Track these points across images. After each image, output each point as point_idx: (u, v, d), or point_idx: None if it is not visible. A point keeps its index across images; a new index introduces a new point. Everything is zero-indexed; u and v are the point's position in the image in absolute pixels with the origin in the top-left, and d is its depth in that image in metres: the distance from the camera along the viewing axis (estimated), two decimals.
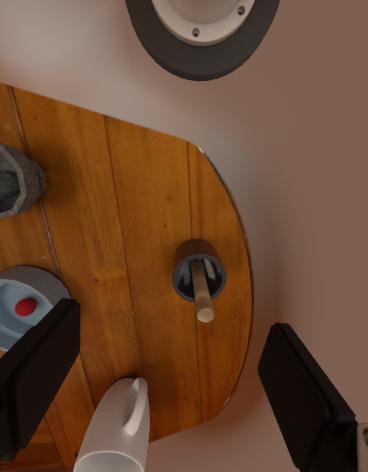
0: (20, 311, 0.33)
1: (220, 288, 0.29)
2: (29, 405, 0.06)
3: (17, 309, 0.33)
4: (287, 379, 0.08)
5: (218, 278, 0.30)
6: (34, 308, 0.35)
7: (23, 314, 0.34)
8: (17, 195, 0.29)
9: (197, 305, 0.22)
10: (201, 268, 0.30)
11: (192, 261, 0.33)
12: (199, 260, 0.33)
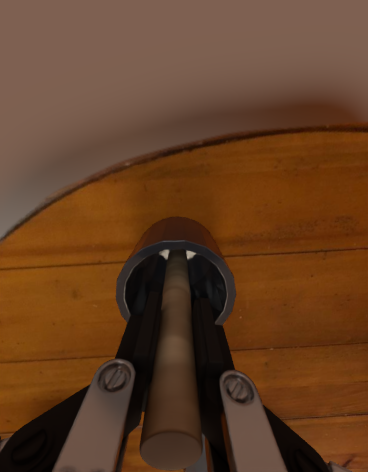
0: None
1: (199, 252, 0.12)
2: None
3: None
4: (194, 343, 0.09)
5: None
6: None
7: None
8: None
9: None
10: (166, 274, 0.15)
11: None
12: (168, 259, 0.17)
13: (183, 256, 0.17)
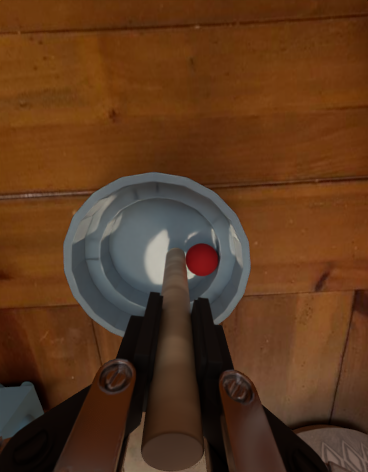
0: None
1: None
2: None
3: None
4: None
5: None
6: (203, 244, 0.18)
7: None
8: None
9: None
10: (165, 274, 0.15)
11: None
12: (166, 259, 0.17)
13: (181, 255, 0.17)
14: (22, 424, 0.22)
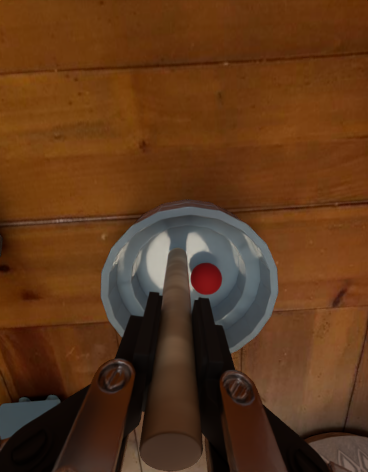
0: (220, 282, 0.18)
1: None
2: None
3: (217, 288, 0.18)
4: (194, 343, 0.09)
5: None
6: (209, 264, 0.19)
7: (221, 276, 0.19)
8: None
9: None
10: (166, 274, 0.15)
11: None
12: (168, 259, 0.17)
13: (183, 255, 0.17)
14: None
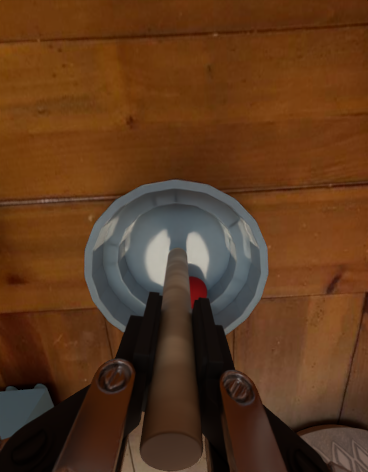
0: None
1: None
2: None
3: None
4: (194, 343, 0.09)
5: None
6: None
7: None
8: None
9: None
10: (166, 274, 0.15)
11: None
12: (168, 259, 0.17)
13: (183, 255, 0.17)
14: None
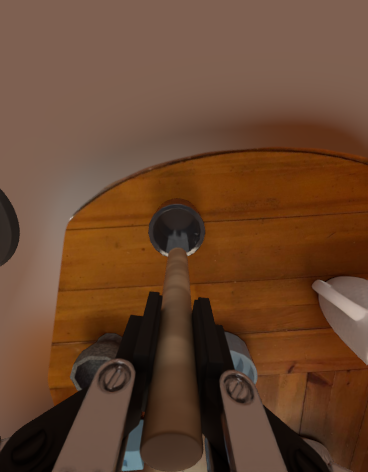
0: None
1: (187, 209, 0.26)
2: None
3: None
4: (194, 343, 0.09)
5: None
6: None
7: None
8: None
9: None
10: (166, 274, 0.15)
11: None
12: (168, 258, 0.17)
13: (183, 255, 0.17)
14: None
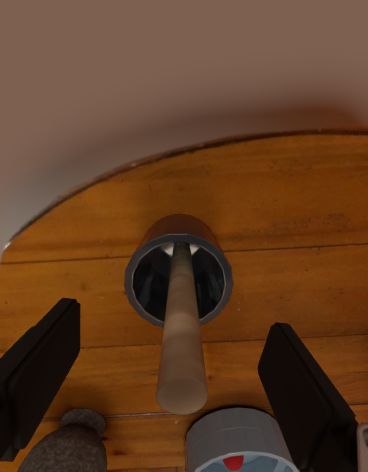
0: (232, 459, 0.26)
1: (200, 244, 0.13)
2: (29, 405, 0.06)
3: (232, 465, 0.26)
4: (287, 379, 0.08)
5: None
6: None
7: None
8: None
9: None
10: (172, 265, 0.16)
11: None
12: (173, 252, 0.19)
13: (187, 249, 0.19)
14: None
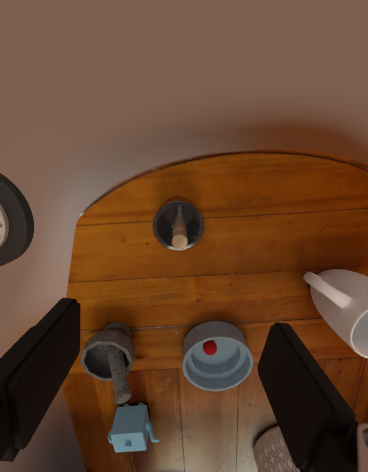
0: (208, 342, 0.43)
1: (188, 206, 0.29)
2: (29, 405, 0.06)
3: (207, 344, 0.42)
4: (287, 379, 0.08)
5: None
6: None
7: (211, 341, 0.43)
8: None
9: None
10: (175, 220, 0.32)
11: None
12: (175, 216, 0.35)
13: (182, 215, 0.35)
14: (146, 423, 0.47)
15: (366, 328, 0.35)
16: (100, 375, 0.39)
